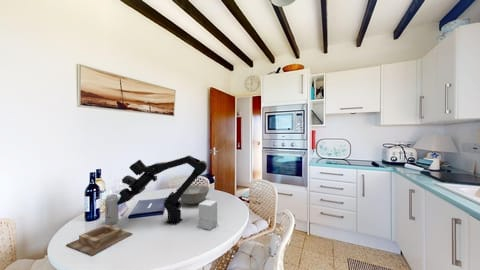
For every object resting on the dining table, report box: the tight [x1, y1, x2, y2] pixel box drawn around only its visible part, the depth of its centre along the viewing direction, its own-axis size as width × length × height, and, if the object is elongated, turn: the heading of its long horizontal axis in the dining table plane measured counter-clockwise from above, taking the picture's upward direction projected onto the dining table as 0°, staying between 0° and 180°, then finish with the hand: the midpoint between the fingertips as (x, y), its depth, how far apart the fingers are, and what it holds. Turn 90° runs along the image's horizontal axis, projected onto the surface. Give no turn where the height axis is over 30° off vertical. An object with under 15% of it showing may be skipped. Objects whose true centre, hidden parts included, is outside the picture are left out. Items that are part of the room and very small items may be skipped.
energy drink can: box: [104, 193, 119, 226], centre depth 105 cm, size 6×6×15 cm
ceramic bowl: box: [175, 184, 210, 205], centre depth 136 cm, size 22×23×10 cm
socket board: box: [65, 224, 134, 257], centre depth 89 cm, size 18×18×4 cm
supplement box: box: [198, 199, 218, 231], centre depth 103 cm, size 7×7×13 cm
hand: (122, 201), depth 105 cm, fingers open, 9 cm apart
